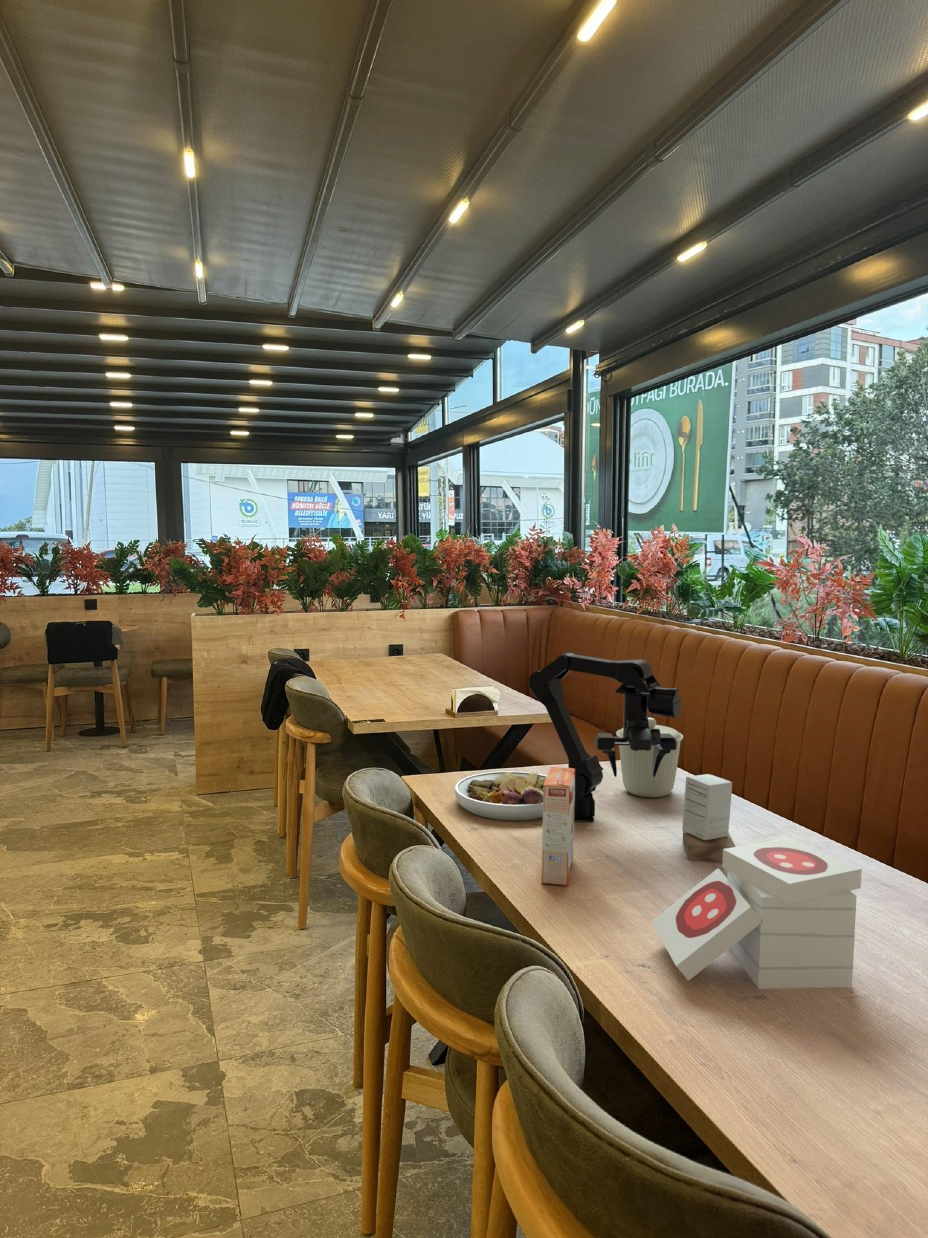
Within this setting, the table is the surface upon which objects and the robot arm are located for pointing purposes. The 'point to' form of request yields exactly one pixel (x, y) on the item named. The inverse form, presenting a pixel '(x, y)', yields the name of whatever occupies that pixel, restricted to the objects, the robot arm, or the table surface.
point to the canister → (649, 766)
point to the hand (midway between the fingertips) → (634, 776)
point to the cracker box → (558, 825)
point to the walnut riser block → (706, 848)
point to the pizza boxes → (770, 916)
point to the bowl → (503, 795)
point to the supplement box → (707, 806)
